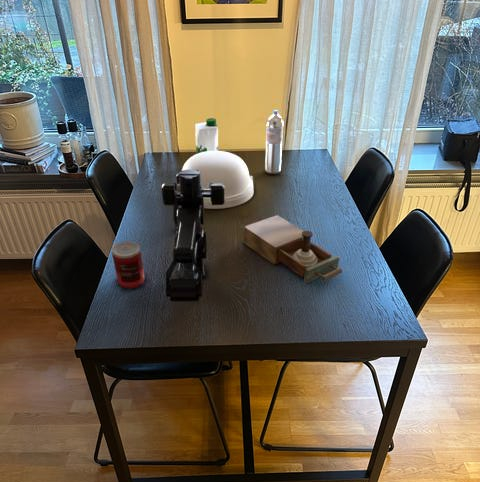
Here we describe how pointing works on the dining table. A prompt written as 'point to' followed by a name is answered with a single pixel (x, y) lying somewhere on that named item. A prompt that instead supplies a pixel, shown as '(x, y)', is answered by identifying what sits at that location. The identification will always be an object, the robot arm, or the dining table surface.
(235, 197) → the dome cover
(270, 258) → the cabinet
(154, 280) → the dining table surface
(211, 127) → the milk carton
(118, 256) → the canned food
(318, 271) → the drawer
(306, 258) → the cream and brown stand
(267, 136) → the water bottle
